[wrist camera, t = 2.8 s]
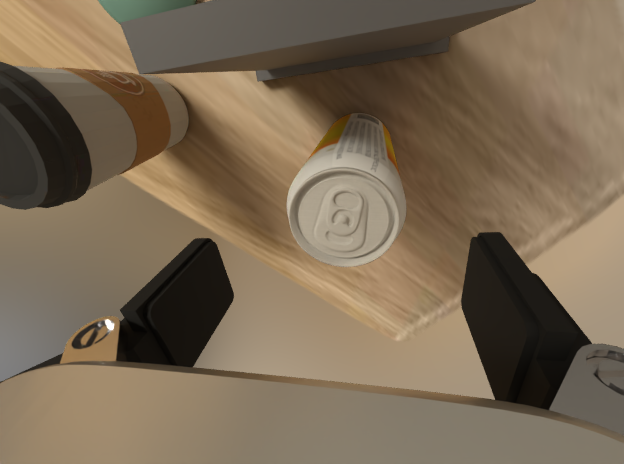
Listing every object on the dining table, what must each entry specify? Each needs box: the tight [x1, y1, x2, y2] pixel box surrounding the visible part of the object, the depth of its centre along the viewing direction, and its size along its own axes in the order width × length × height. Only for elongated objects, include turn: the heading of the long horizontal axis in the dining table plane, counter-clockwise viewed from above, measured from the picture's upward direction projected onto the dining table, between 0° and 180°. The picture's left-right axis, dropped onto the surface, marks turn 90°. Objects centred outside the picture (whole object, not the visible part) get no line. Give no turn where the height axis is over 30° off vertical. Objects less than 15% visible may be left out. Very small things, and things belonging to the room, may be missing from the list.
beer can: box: [287, 113, 406, 267], centre depth 20 cm, size 6×6×15 cm
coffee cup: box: [0, 62, 189, 209], centre depth 21 cm, size 8×8×15 cm
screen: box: [120, 0, 536, 81], centre depth 16 cm, size 3×15×16 cm, turn 98°
